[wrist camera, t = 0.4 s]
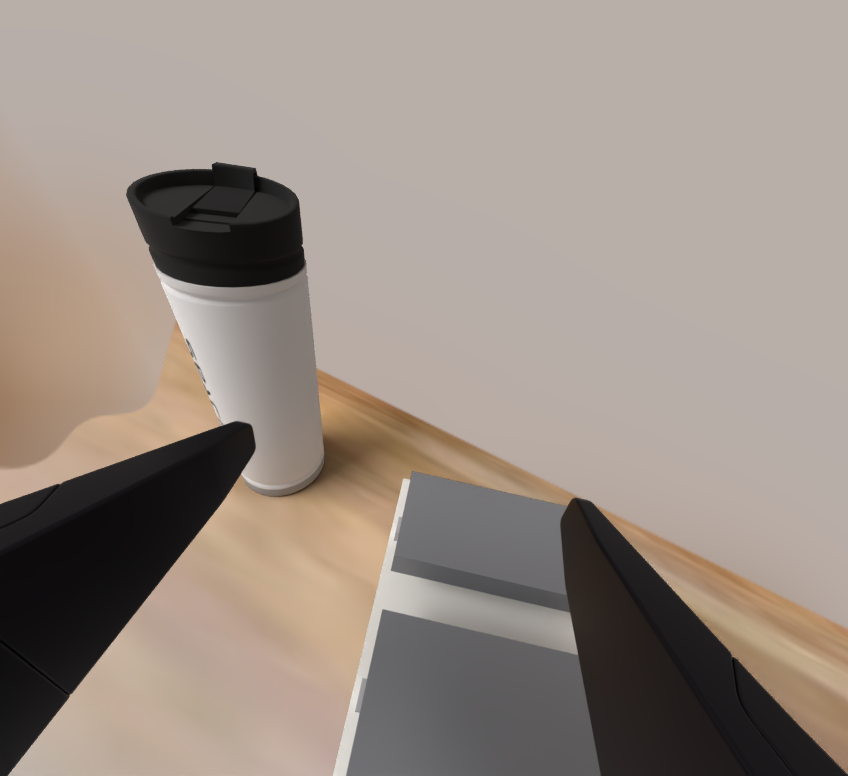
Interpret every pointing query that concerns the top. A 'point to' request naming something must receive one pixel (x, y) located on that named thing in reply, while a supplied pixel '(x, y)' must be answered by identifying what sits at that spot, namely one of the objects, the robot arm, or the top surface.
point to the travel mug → (241, 308)
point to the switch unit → (448, 620)
